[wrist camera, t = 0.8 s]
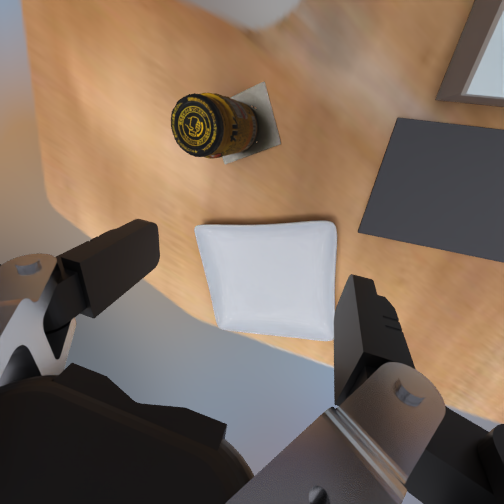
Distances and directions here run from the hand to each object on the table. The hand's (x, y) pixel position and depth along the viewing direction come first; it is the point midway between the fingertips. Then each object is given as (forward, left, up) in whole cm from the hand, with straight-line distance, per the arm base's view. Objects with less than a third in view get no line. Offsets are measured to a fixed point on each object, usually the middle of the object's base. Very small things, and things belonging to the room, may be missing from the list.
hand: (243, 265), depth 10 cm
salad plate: (+18, -2, -27) cm, 32 cm away
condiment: (-4, -9, -27) cm, 29 cm away
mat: (0, +19, -27) cm, 33 cm away
